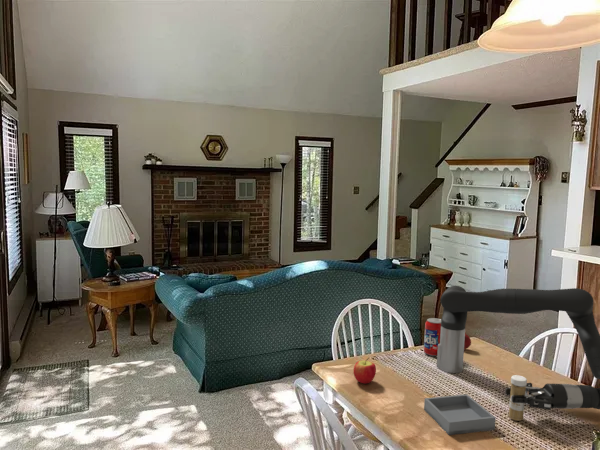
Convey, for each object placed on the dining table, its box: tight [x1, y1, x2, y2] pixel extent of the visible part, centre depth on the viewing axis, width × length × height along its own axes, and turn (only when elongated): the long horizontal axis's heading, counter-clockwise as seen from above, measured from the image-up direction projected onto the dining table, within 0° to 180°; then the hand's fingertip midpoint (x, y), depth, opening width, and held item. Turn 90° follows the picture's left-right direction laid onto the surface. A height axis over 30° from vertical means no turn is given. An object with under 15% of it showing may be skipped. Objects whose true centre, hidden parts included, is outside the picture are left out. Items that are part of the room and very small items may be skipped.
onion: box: [464, 331, 472, 351], centre depth 215 cm, size 6×6×8 cm
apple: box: [353, 357, 377, 384], centre depth 180 cm, size 8×8×10 cm
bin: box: [423, 394, 496, 436], centre depth 154 cm, size 16×16×4 cm
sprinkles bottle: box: [508, 374, 528, 422], centre depth 155 cm, size 5×5×14 cm
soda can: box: [423, 317, 442, 357], centre depth 209 cm, size 8×8×15 cm
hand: (509, 395), depth 155 cm, fingers closed on sprinkles bottle, 4 cm apart
